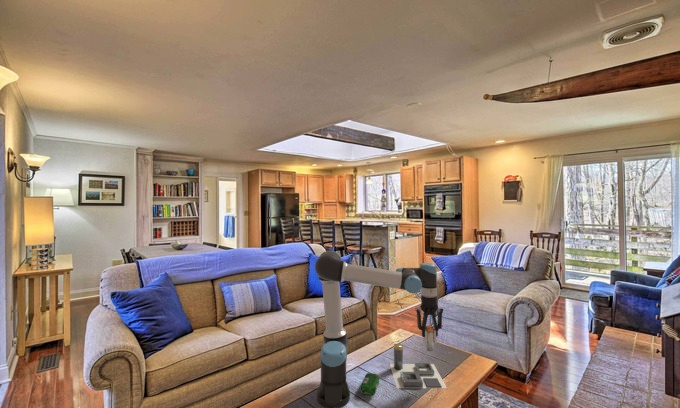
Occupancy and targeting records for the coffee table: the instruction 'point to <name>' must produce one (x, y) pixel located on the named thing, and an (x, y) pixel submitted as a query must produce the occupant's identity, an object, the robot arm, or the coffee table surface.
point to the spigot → (398, 356)
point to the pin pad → (432, 383)
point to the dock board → (412, 369)
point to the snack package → (370, 384)
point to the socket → (424, 365)
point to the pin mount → (411, 383)
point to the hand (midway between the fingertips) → (429, 343)
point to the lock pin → (430, 338)
